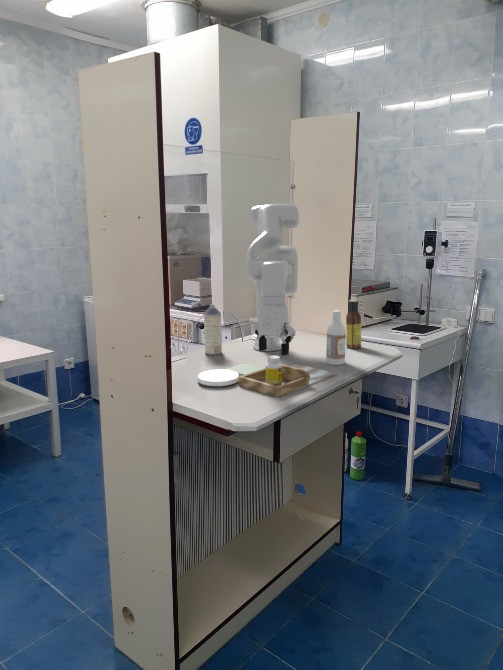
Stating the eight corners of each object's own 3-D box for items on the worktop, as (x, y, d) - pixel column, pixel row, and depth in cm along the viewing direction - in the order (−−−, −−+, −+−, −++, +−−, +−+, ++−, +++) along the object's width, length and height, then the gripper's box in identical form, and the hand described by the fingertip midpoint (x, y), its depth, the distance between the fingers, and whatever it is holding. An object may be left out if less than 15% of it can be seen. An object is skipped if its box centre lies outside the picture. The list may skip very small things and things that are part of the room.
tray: (224, 373, 192) (224, 369, 192) (244, 367, 199) (244, 363, 199) (248, 380, 184) (248, 375, 184) (268, 373, 191) (268, 369, 191)
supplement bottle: (280, 388, 175) (280, 359, 173) (264, 387, 176) (264, 358, 174) (282, 383, 180) (282, 355, 178) (266, 382, 181) (266, 354, 179)
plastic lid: (228, 373, 192) (228, 367, 192) (246, 384, 180) (246, 377, 180) (191, 379, 186) (191, 372, 185) (207, 391, 174) (207, 384, 173)
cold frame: (238, 385, 179) (238, 370, 178) (297, 365, 200) (297, 352, 199) (278, 397, 167) (278, 382, 166) (336, 374, 188) (336, 361, 187)
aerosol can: (225, 352, 220) (223, 303, 215) (216, 356, 214) (215, 306, 209) (210, 350, 223) (209, 302, 218) (202, 354, 217) (200, 305, 212)
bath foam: (334, 366, 198) (336, 313, 193) (322, 362, 204) (323, 310, 199) (348, 363, 202) (350, 311, 197) (336, 359, 207) (337, 308, 203)
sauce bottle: (362, 346, 227) (363, 299, 222) (360, 349, 221) (361, 302, 216) (346, 345, 229) (347, 298, 224) (344, 348, 223) (345, 301, 218)
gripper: (245, 299, 175) (246, 350, 178) (286, 304, 163) (286, 359, 167) (261, 296, 180) (262, 346, 184) (302, 301, 168) (301, 354, 172)
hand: (273, 352), depth 175 cm, fingers open, 9 cm apart
